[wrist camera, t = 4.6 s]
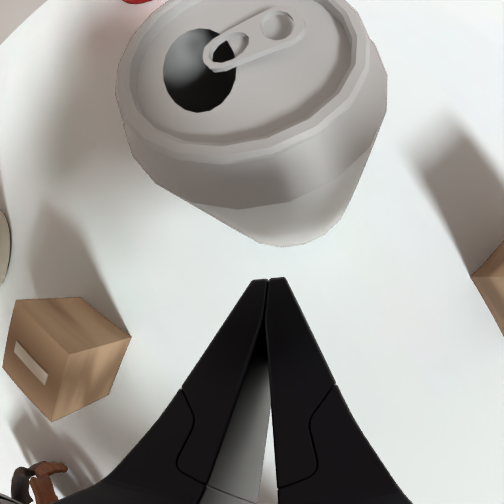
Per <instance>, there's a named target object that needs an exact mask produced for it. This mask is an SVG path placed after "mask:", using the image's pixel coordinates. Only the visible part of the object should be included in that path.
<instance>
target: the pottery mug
mask: <svg viewBox="0 0 504 504" xmlns="http://www.w3.org/2000/svg"><path fill="white" fill-rule="evenodd" d="M67 470H68V468H67V467H66V466H65V465H64V464H62V463H60V462H59V463H56V462H50V463H49V462H46V461H42V462H39V463H36V464H34V465H32V466H31V467H29V468H25V467H19V468H17V469H16V470H15V472H14V474H13V477H12V484H11V497H12V499H14V500H16V501H18V502H20V503H22V504H29V503H31V502H33V499H32V498H31V497H30V495H29V484H30V485H31V488H32V490H33V493H34V495H35V500H36V504H50V503H52V502H55V501H58V497H57V496H56V495H55V492H54V488H53V484H52V482H51V479H50V477H49V476H50V475H52V474H54V473H60V472H67ZM34 475H36V477H37V478H36V477H32V476H34ZM30 478H31V479H30ZM29 479H30V483H29Z"/></svg>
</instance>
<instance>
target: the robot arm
mask: <svg viewBox="0 0 504 504" xmlns="http://www.w3.org/2000/svg"><path fill="white" fill-rule="evenodd" d="M270 407H271V412H272V425H273V438H274V452H275V465H276V479H277V488H278V491H277V492H278V504H413V503H412V502H411V501H410V500H409V499H408V498H407V496H406V495H405V494H404V493H403V492H402V490H401V489H400V488H399V486H398V485H397V484H396V482H395V481H394V479H393V478H392V476H391V475H390V473H389V472H388V470H387V469H386V467H385V466H384V464H383V463H382V461H381V460H380V458H379V457H378V455H377V454H376V452H375V451H374V449H373V448H372V446H371V445H370V443H369V442H368V440H367V439H366V437H365V436H364V434H363V433H362V431H361V429H360V428H359V426H358V424H357V423H356V421H355V419H354V418H353V416H352V414H351V412H350V410H349V408H348V406H347V404H346V402H345V400H344V398H343V396H342V394H341V392H340V390H339V388H338V386H337V385H336V382H335V379H334V377H333V375H332V373H331V371H330V369H329V367H328V365H327V362H326V360H325V358H324V356H323V354H322V352H321V350H320V348H319V346H318V344H317V342H316V339H315V337H314V335H313V333H312V331H311V329H310V327H309V325H308V323H307V321H306V319H305V317H304V315H303V312H302V310H301V308H300V306H299V304H298V302H297V300H296V298H295V296H294V294H293V292H292V290H291V288H290V286H289V284H288V282H287V280H286V278H285V277H279V278H271V279H269V280H268V279H258V280H253V281H251V282H250V284H249V285H248V287H247V288H246V290H245V292H244V293H243V295H242V296H241V298H240V299H239V301H238V302H237V304H236V305H235V307H234V308H233V310H232V311H231V313H230V314H229V316H228V317H227V319H226V320H225V322H224V323H223V325H222V326H221V328H220V329H219V331H218V333H217V334H216V336H215V337H214V339H213V340H212V342H211V343H210V345H209V346H208V348H207V349H206V351H205V352H204V354H203V355H202V357H201V358H200V360H199V361H198V363H197V364H196V366H195V367H194V369H193V370H192V371H191V373H190V374H189V376H188V377H187V379H186V380H185V382H184V383H183V385H182V389H179V390H178V392H177V393H176V395H175V396H174V398H173V399H172V401H171V402H170V404H169V405H168V406H167V408H166V409H165V411H164V412H163V413H162V415H161V416H160V417H159V419H158V420H157V421H156V422H155V424H154V425H153V426H152V427H151V428H150V430H149V431H148V432H147V433H146V434H145V436H144V437H143V438H142V439H141V440H140V441H139V442H138V444H137V445H136V446H135V447H134V448H133V449H132V450H131V451H130V453H129V454H128V455H127V456H126V457H125V458H124V459H123V460H122V461H121V463H120V464H119V465H118V466H117V467H116V468H115V469H114V470H113V471H112V472H111V473H110V474H109V475H108V476H107V477H105V478H104V479H103V480H101V481H100V482H98V483H96V484H95V485H93V486H91V487H89V488H86V489H84V490H82V491H79V492H77V493H75V494H72V495H70V496H67V497H65V498H63V499H60V500H58V501H55V502H52V503H50V504H257V501H258V494H259V488H260V481H261V474H262V467H263V460H264V453H265V446H266V438H267V431H268V423H269V415H270ZM0 504H22V503H20V502H18V501H16V500H14V499H12V498H10V497H8V496H6V495H4V494H1V493H0Z"/></svg>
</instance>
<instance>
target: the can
mask: <svg viewBox="0 0 504 504" xmlns="http://www.w3.org/2000/svg"><path fill="white" fill-rule="evenodd" d="M115 95H116V98H117V102H118V105H119V109H120V112H121V116H122V119H123V121H124V124H123V126H124V129H125V132H126V136H127V139H128V142H129V145H130V149H131V152H132V155H133V157H134V158H135V159H136V161H137V162H138V163H139V164H140V165H141V167H142V168H143V169H144V170H145V171H146V173H147V174H148V175H149V176H150V177H151V179H152V180H153V181H154V182H155V183H156V184H157V185H159V186H161V187H163V188H164V189H166V190H168V191H169V192H171V193H173V194H175V195H176V196H178V197H180V198H182V199H183V200H185V201H187V202H188V203H190V204H192V205H194V206H195V207H197V208H199V209H201V210H202V211H204V212H206V213H207V214H209V215H211V216H213V217H214V218H216V219H218V220H219V221H221V222H223V223H225V224H226V225H228V226H230V227H231V228H233V229H235V230H237V231H238V232H240V233H242V234H244V235H245V236H247V237H249V238H251V239H253V240H254V241H256V242H258V243H261V244H267V245H272V246H277V247H287V246H295V245H303V244H306V243H308V242H310V241H312V240H314V239H316V238H318V237H320V236H323V235H325V234H326V233H327V232H328V231H329V230H330V229H331V228H332V227H333V226H334V225H335V224H336V223H337V222H338V221H339V220H340V219H341V218H342V216H343V214H344V212H345V210H346V208H347V206H348V204H349V202H350V200H351V198H352V196H353V193H354V191H355V189H356V186H357V184H358V182H359V179H360V177H361V174H362V172H363V170H364V167H365V165H366V162H367V160H368V157H369V155H370V152H371V150H372V147H373V145H374V142H375V140H376V137H377V135H378V132H379V129H380V127H381V124H382V121H383V119H384V116H385V114H386V107H387V73H386V71H385V68H384V66H383V63H382V61H381V58H380V56H379V53H378V51H377V48H376V46H375V44H374V43H373V41H372V40H371V39H370V38H369V36H368V33H367V31H366V29H365V27H364V24H363V22H362V20H361V18H360V16H359V14H358V12H357V11H356V10H355V9H354V8H353V7H352V6H351V5H349V4H348V3H347V2H346V1H345V0H169V1H167V2H166V3H165V4H163V5H162V6H161V7H159V8H158V9H157V10H155V11H154V12H153V13H152V14H151V15H150V16H149V17H148V18H147V19H146V21H145V22H144V23H143V24H142V25H141V26H140V28H139V29H138V30H137V31H136V32H135V34H134V35H133V36H132V38H131V40H130V42H129V44H128V46H127V48H126V50H125V52H124V54H123V56H122V59H121V61H120V63H119V65H118V73H117V81H116V90H115Z"/></svg>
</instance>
